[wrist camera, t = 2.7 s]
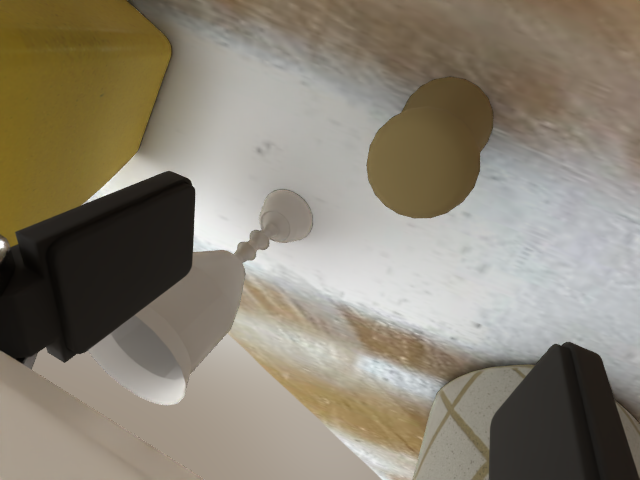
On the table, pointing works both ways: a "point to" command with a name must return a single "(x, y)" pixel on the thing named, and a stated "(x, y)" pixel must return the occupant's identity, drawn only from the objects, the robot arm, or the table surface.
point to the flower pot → (71, 101)
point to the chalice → (194, 310)
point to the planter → (479, 425)
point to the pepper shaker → (431, 149)
